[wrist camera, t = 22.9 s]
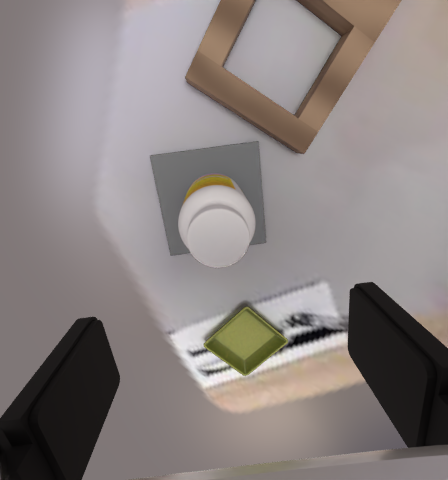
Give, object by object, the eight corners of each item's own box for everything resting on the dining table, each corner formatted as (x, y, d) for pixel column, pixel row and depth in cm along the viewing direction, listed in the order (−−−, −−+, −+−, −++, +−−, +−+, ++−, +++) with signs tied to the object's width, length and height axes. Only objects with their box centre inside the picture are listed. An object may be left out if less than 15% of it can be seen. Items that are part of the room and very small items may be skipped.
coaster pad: (257, 141, 30) (258, 141, 30) (265, 241, 35) (266, 242, 34) (150, 155, 30) (149, 155, 30) (171, 253, 34) (170, 255, 34)
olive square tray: (286, 331, 40) (290, 341, 38) (243, 366, 42) (245, 377, 40) (245, 297, 38) (246, 305, 36) (202, 335, 40) (201, 345, 38)
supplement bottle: (174, 199, 32) (152, 236, 20) (216, 159, 30) (221, 172, 18) (212, 239, 34) (215, 295, 21) (254, 203, 32) (281, 242, 20)
